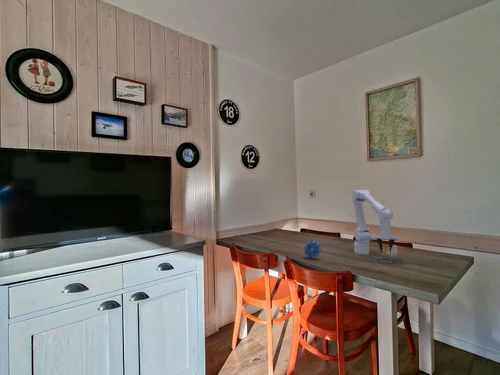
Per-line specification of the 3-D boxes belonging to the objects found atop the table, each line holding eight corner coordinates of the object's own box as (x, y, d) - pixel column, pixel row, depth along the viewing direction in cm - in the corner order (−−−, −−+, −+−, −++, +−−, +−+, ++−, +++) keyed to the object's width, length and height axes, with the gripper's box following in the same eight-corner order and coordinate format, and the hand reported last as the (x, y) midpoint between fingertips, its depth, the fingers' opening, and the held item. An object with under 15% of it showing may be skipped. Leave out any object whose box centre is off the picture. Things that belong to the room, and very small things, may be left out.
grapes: (323, 258, 172) (322, 239, 171) (320, 260, 166) (320, 241, 165) (305, 256, 177) (305, 238, 177) (302, 258, 171) (302, 240, 171)
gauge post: (391, 258, 164) (391, 246, 164) (390, 257, 167) (390, 244, 167) (397, 259, 163) (397, 246, 163) (396, 257, 166) (396, 245, 166)
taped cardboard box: (382, 255, 158) (382, 246, 158) (381, 253, 162) (381, 245, 162) (389, 255, 157) (389, 247, 157) (388, 253, 161) (388, 245, 161)
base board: (374, 264, 157) (374, 260, 157) (370, 257, 172) (370, 254, 172) (404, 266, 152) (404, 263, 152) (398, 259, 167) (398, 255, 167)
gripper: (373, 230, 158) (373, 252, 158) (400, 231, 153) (400, 254, 153) (371, 228, 164) (371, 249, 165) (397, 229, 160) (397, 251, 160)
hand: (385, 251), depth 159 cm, fingers closed on taped cardboard box, 4 cm apart
